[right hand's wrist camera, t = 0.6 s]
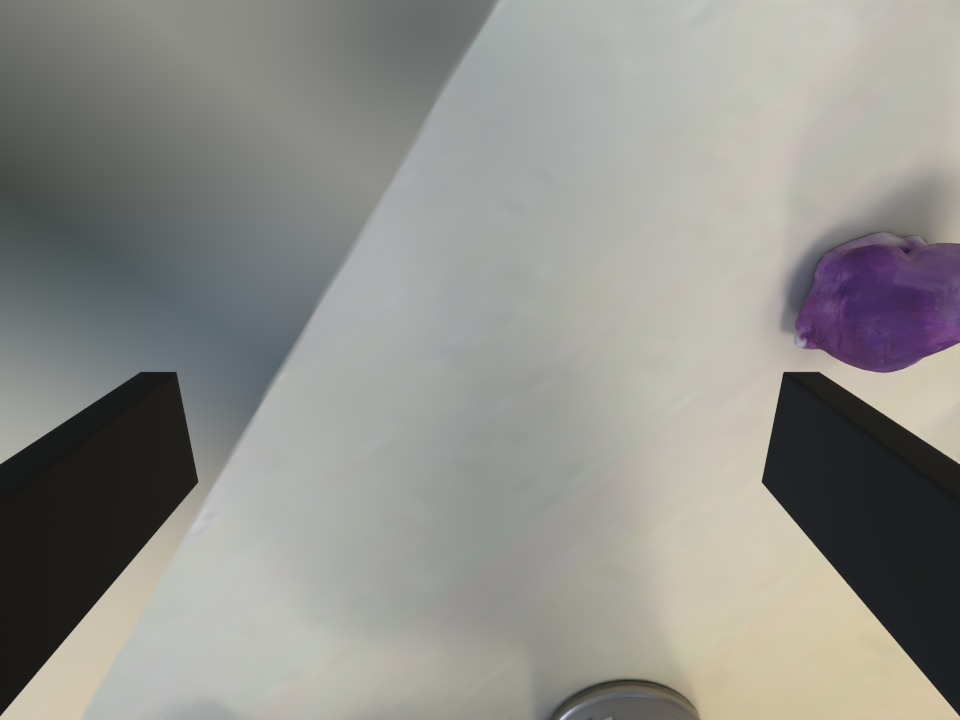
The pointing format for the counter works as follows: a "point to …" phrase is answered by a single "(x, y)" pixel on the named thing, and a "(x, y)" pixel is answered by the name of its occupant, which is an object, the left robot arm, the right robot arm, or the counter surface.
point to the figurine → (883, 302)
